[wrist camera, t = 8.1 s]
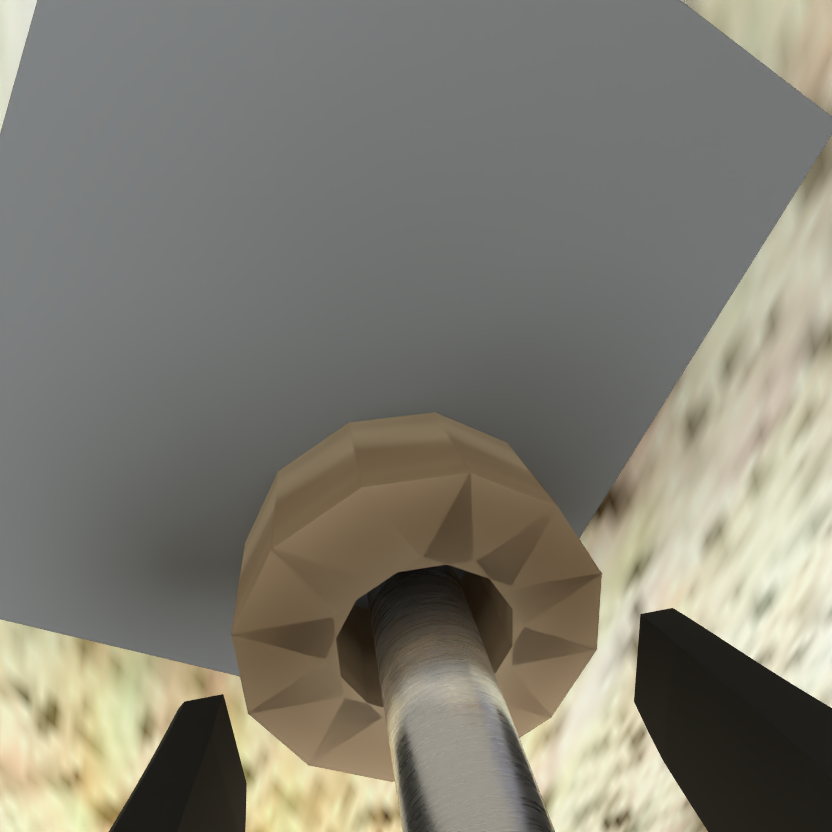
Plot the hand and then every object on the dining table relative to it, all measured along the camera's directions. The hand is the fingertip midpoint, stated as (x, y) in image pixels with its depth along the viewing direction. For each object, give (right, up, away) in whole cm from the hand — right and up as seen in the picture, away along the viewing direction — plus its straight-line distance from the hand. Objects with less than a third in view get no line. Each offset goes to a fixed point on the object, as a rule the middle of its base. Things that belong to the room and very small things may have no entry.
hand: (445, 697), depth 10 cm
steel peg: (-1, +2, +4) cm, 4 cm away
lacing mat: (-2, +6, +3) cm, 7 cm away
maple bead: (-1, +2, +4) cm, 4 cm away
